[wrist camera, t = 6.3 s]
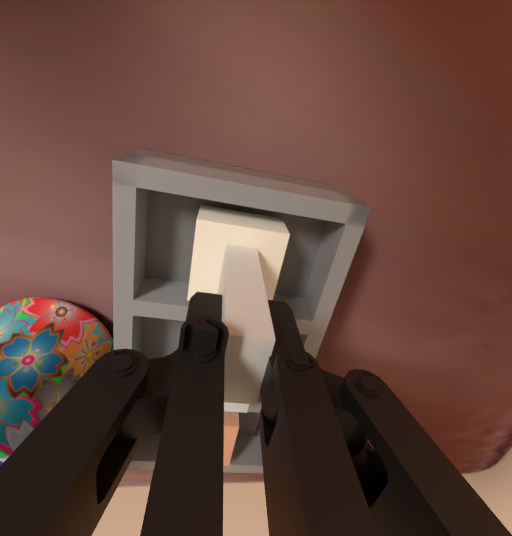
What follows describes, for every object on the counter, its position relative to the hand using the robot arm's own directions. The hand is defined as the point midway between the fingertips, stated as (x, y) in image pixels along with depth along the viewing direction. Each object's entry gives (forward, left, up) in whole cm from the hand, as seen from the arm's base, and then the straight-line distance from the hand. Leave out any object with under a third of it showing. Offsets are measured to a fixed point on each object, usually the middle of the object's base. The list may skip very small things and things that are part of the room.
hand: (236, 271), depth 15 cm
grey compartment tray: (+7, 0, -5) cm, 9 cm away
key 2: (0, 0, -3) cm, 3 cm away
